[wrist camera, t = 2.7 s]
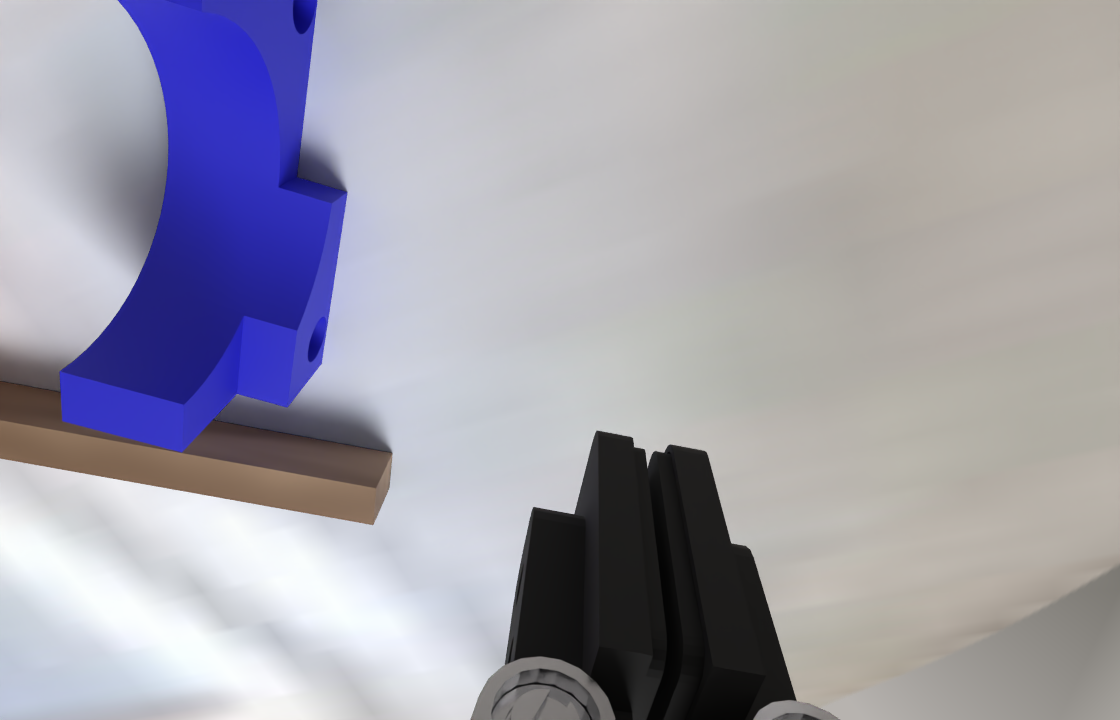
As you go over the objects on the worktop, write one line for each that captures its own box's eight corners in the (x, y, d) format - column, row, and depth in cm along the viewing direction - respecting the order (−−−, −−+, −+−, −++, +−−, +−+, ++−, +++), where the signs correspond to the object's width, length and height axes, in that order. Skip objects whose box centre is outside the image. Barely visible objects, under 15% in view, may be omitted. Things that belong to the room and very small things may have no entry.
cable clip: (323, 361, 23) (240, 467, 18) (189, 323, 22) (62, 420, 17) (383, -33, 17) (289, -52, 12) (207, -92, 17) (31, -138, 12)
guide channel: (-331, -433, 14) (-540, -532, 12) (456, -252, 15) (427, -307, 13) (-85, 402, 24) (-169, 451, 22) (389, 488, 25) (364, 545, 22)
